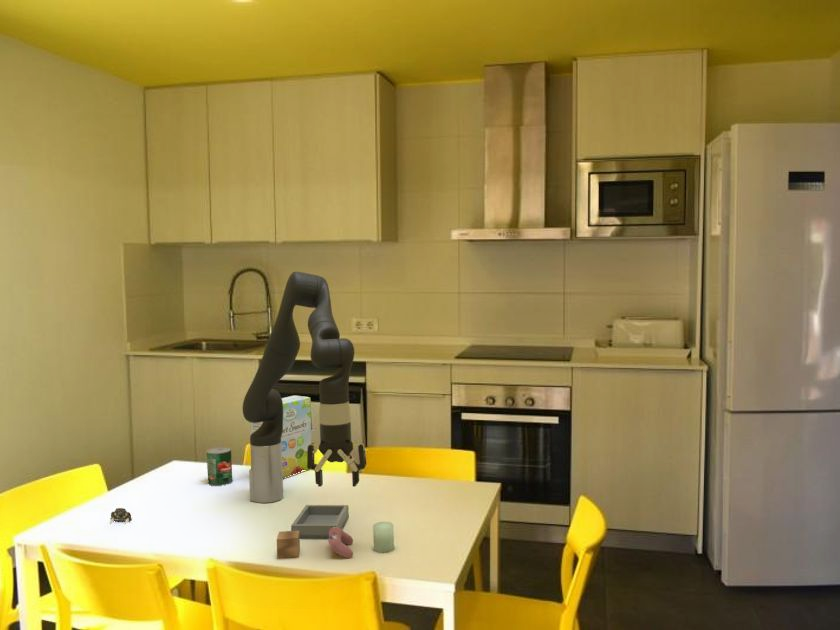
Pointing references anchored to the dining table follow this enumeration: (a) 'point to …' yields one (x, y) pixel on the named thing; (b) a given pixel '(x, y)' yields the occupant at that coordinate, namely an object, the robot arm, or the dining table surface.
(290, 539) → the walnut cube
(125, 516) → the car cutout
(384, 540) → the sage cylinder
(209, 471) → the canned tomato
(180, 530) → the dining table surface
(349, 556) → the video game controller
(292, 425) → the snack box
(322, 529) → the charcoal tray
